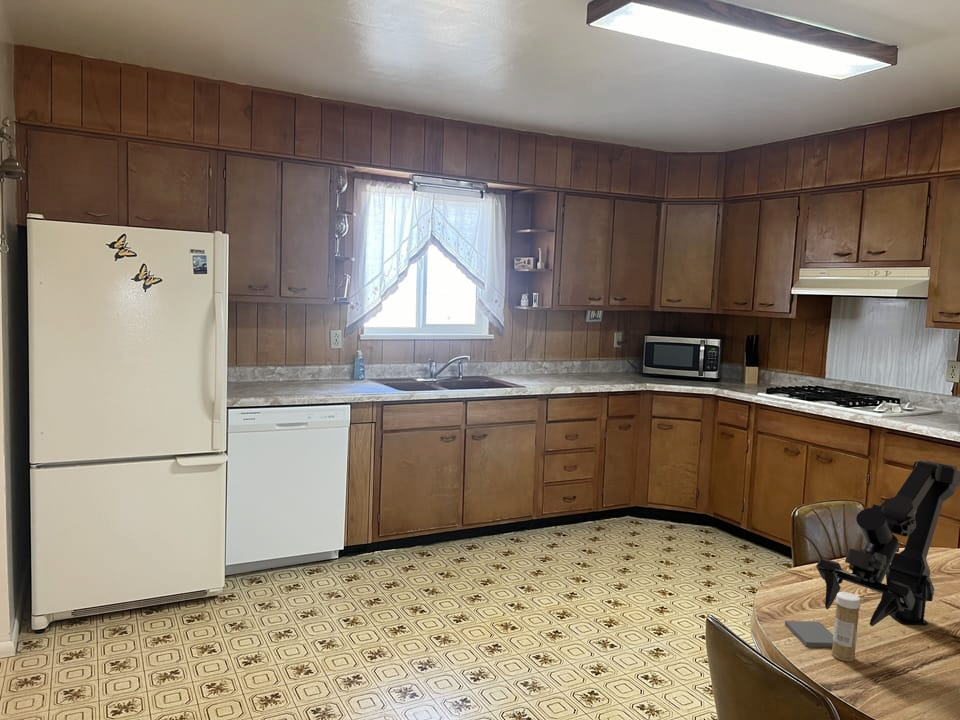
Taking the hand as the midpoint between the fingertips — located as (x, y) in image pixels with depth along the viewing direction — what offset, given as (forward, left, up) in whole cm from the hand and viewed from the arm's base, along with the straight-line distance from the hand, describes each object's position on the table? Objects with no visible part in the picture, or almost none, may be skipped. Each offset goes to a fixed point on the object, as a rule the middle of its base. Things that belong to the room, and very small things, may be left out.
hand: (848, 616), depth 151 cm
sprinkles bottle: (0, 0, -9) cm, 9 cm away
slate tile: (+2, -9, -9) cm, 13 cm away
